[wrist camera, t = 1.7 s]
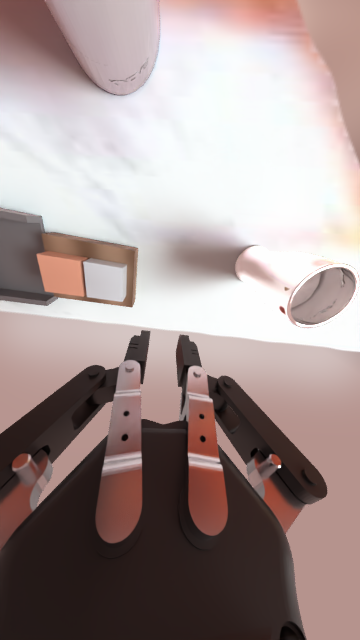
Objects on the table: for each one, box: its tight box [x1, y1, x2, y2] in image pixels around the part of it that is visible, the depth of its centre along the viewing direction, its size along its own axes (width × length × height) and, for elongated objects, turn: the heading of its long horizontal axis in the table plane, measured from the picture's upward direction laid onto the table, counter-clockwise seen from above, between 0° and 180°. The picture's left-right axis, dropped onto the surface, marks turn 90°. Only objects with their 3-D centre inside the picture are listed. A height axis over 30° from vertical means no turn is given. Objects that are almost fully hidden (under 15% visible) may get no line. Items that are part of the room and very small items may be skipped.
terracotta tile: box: [36, 251, 88, 297], centre depth 23 cm, size 5×5×2 cm
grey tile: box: [83, 258, 127, 302], centre depth 24 cm, size 5×5×2 cm
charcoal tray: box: [0, 208, 58, 306], centre depth 24 cm, size 10×13×3 cm
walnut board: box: [42, 232, 138, 307], centre depth 26 cm, size 12×9×3 cm
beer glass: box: [235, 246, 359, 328], centre depth 22 cm, size 7×7×15 cm
